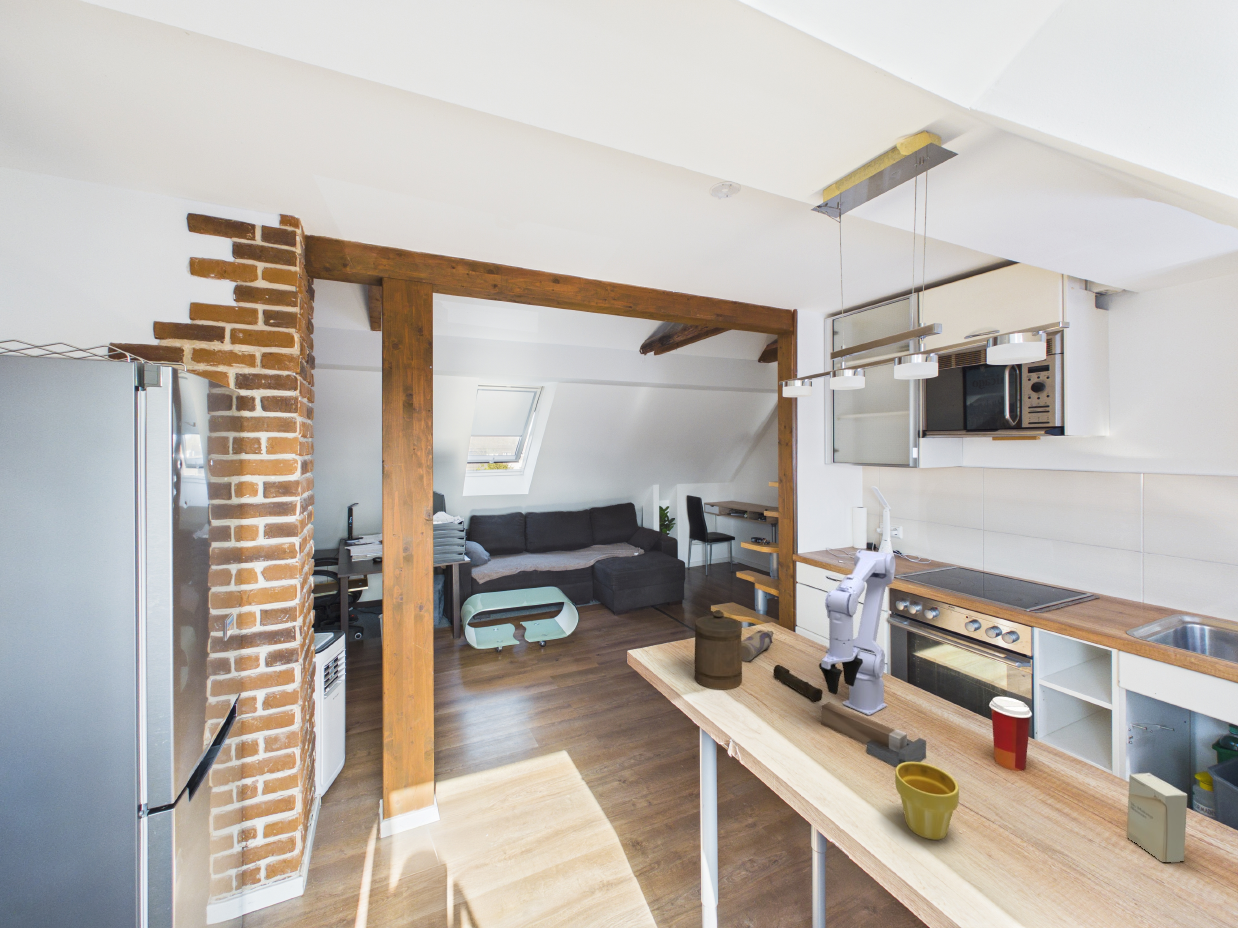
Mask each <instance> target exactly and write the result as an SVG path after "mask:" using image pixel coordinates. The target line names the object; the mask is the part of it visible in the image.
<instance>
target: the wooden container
mask: <svg viewBox="0 0 1238 928" xmlns="http://www.w3.org/2000/svg"><path fill="white" fill-rule="evenodd" d="M742 628H743V625H742V622H740V620H738V619H736V618H733V617H730V616H729V617H728V616H725V613H724V612H723V611H722V610H720V609H715V610H714V611H712V615H705V616H701V617H699V618H697V619H696V620H695V624H694V632H695V633H694V634H695V635H694V640H695V641H694V680H695V681H696V682H697V684H699V685H701V686H703V687H705V688H709V689H712V690H724V689H725V690H731V689H736V688H737V687H739V686H741V684H742V683H743V661H742V643H741V641H742V632H743V629H742Z"/></svg>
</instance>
